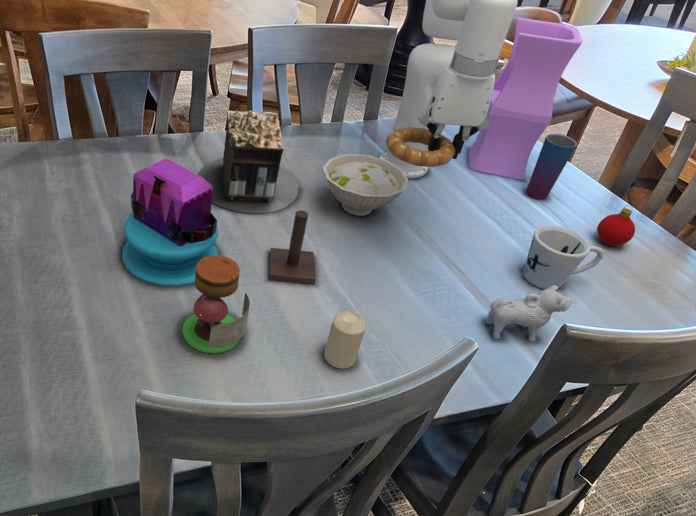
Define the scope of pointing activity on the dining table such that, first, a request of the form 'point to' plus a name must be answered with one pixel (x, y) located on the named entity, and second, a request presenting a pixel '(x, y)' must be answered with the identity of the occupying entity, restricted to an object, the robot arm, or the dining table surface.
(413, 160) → the ring
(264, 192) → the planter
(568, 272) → the mug
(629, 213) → the christmas ornament
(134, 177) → the decorative object
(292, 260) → the post
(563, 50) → the container
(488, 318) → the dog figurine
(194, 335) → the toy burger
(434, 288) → the dining table surface
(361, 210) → the bowl
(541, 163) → the cup
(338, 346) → the candle
